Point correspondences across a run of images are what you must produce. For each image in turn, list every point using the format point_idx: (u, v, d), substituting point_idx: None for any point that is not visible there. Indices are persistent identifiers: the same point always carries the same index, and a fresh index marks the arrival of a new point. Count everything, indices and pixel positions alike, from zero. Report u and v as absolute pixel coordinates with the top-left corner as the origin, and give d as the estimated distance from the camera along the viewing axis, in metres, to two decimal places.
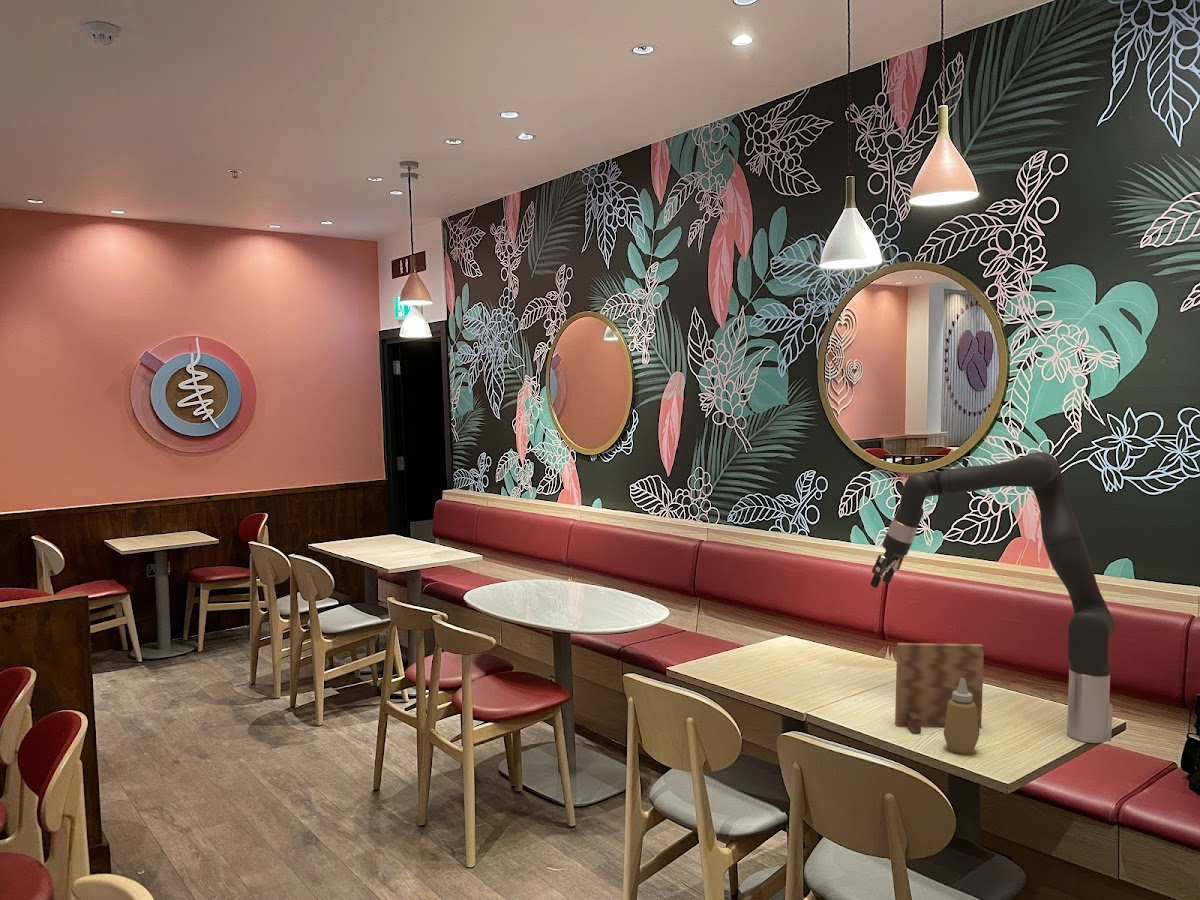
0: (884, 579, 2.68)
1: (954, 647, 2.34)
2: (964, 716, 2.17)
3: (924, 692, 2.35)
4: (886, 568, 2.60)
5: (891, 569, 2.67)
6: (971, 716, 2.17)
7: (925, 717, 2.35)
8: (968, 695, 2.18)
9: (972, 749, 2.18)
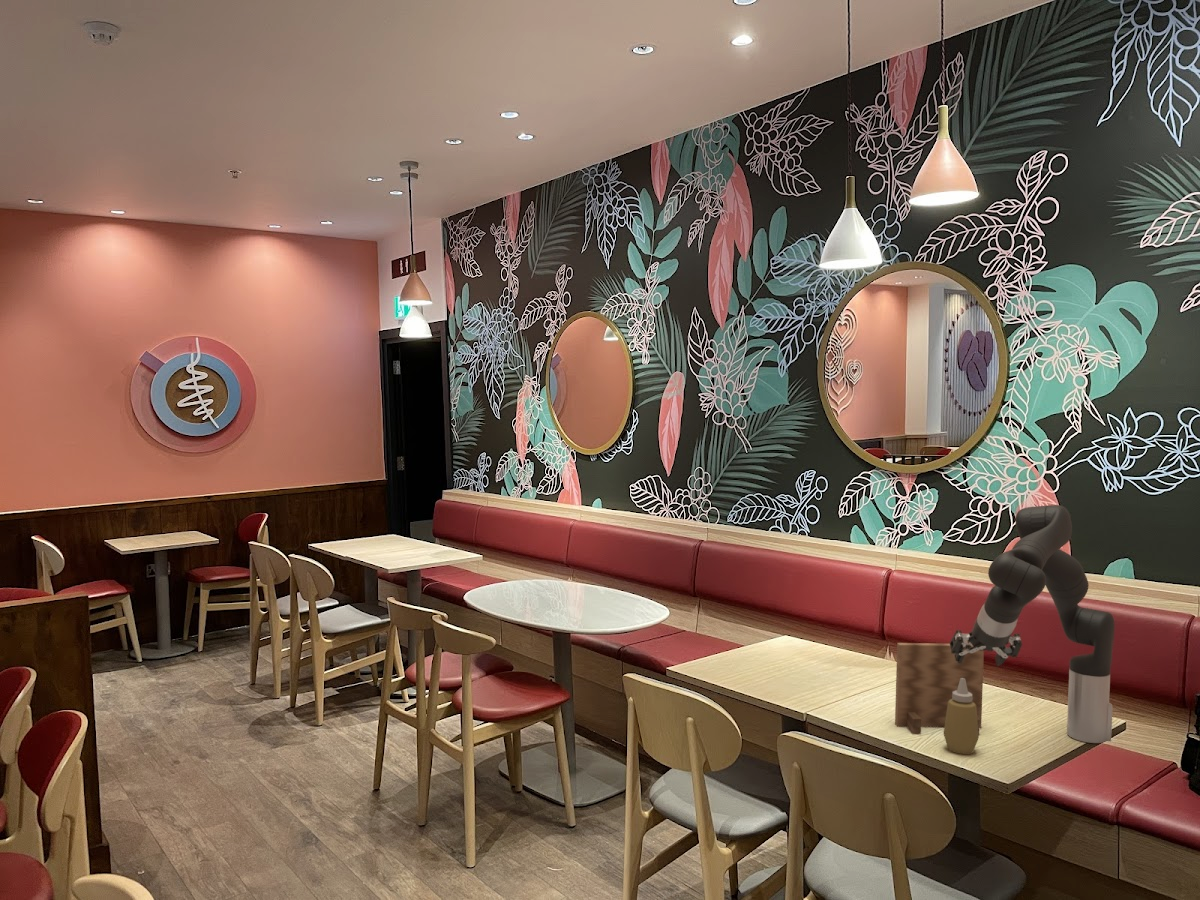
0: None
1: None
2: (964, 716, 2.17)
3: (924, 692, 2.35)
4: None
5: (963, 649, 2.02)
6: (971, 716, 2.17)
7: (925, 717, 2.35)
8: (968, 695, 2.18)
9: (972, 749, 2.18)
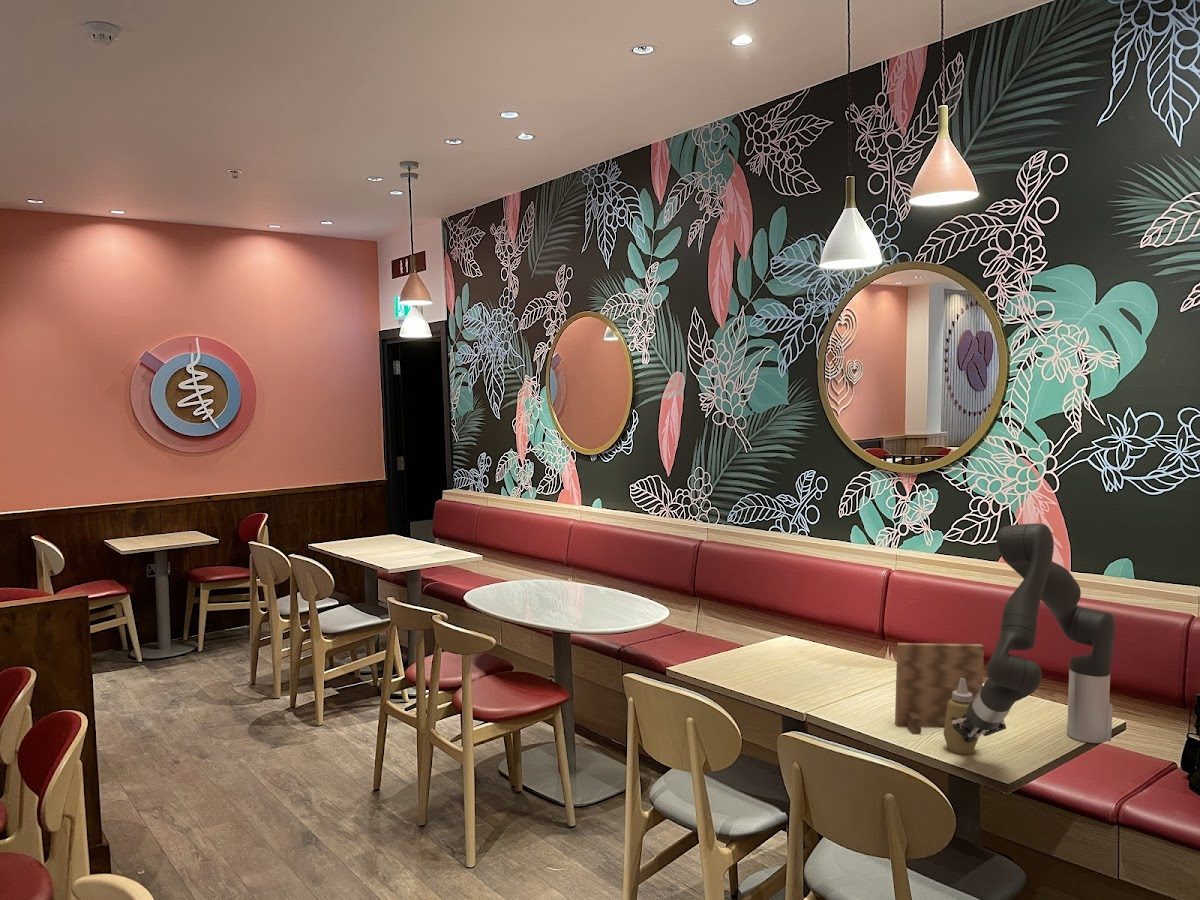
0: None
1: (954, 647, 2.34)
2: None
3: (924, 692, 2.35)
4: None
5: None
6: None
7: (925, 717, 2.35)
8: (968, 695, 2.18)
9: (972, 749, 2.18)
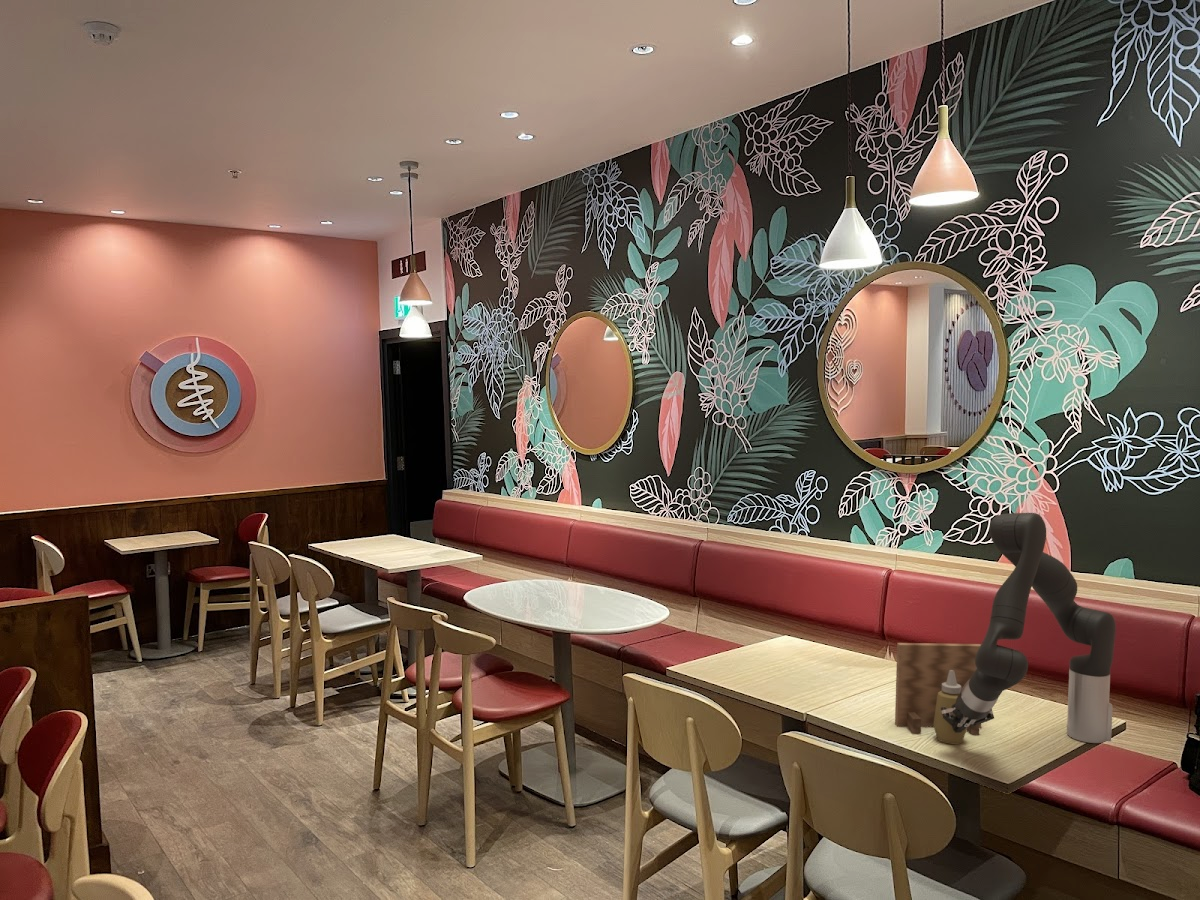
0: None
1: (954, 647, 2.34)
2: None
3: (924, 692, 2.35)
4: None
5: None
6: None
7: (925, 717, 2.35)
8: (957, 686, 2.24)
9: (961, 739, 2.24)
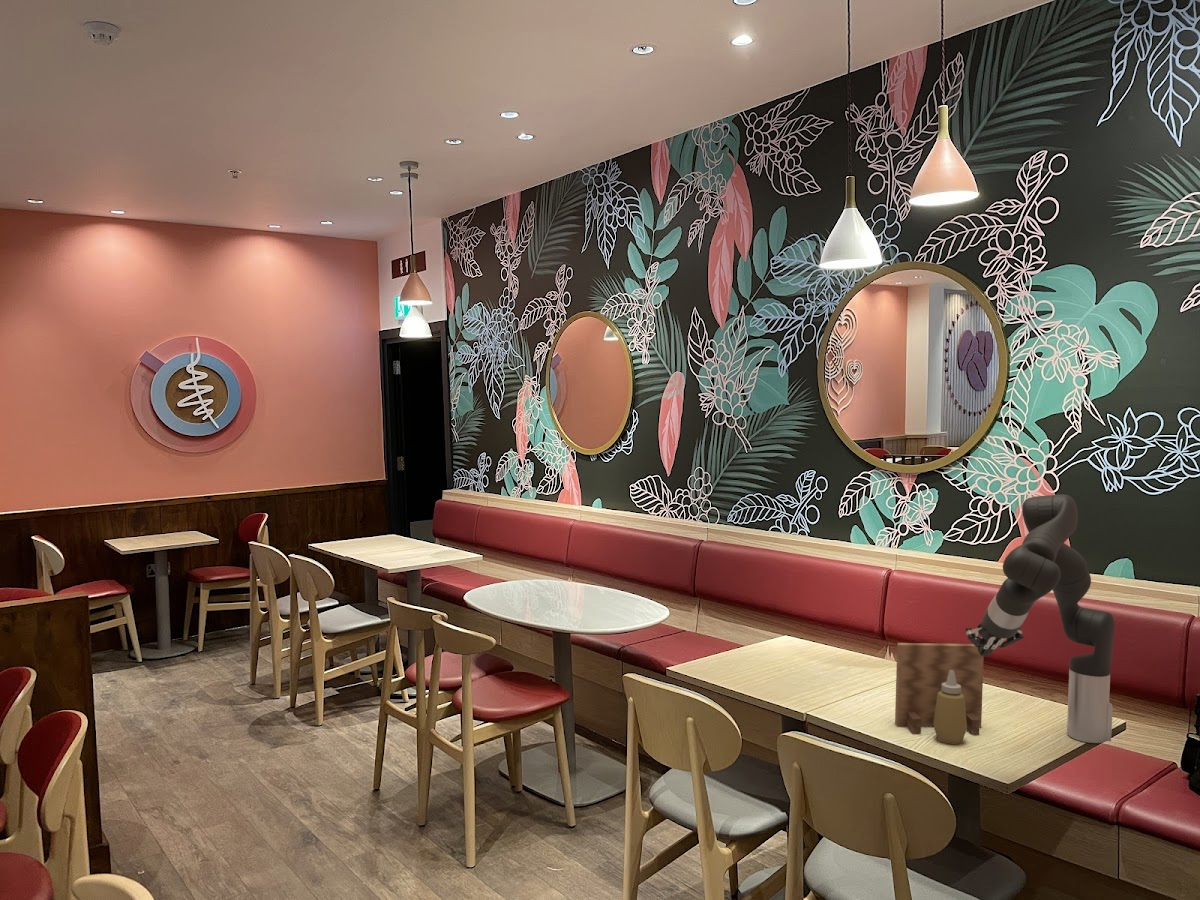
0: None
1: (954, 647, 2.34)
2: (953, 707, 2.23)
3: (924, 692, 2.35)
4: None
5: None
6: (960, 706, 2.23)
7: (925, 717, 2.35)
8: (957, 687, 2.24)
9: (961, 739, 2.24)
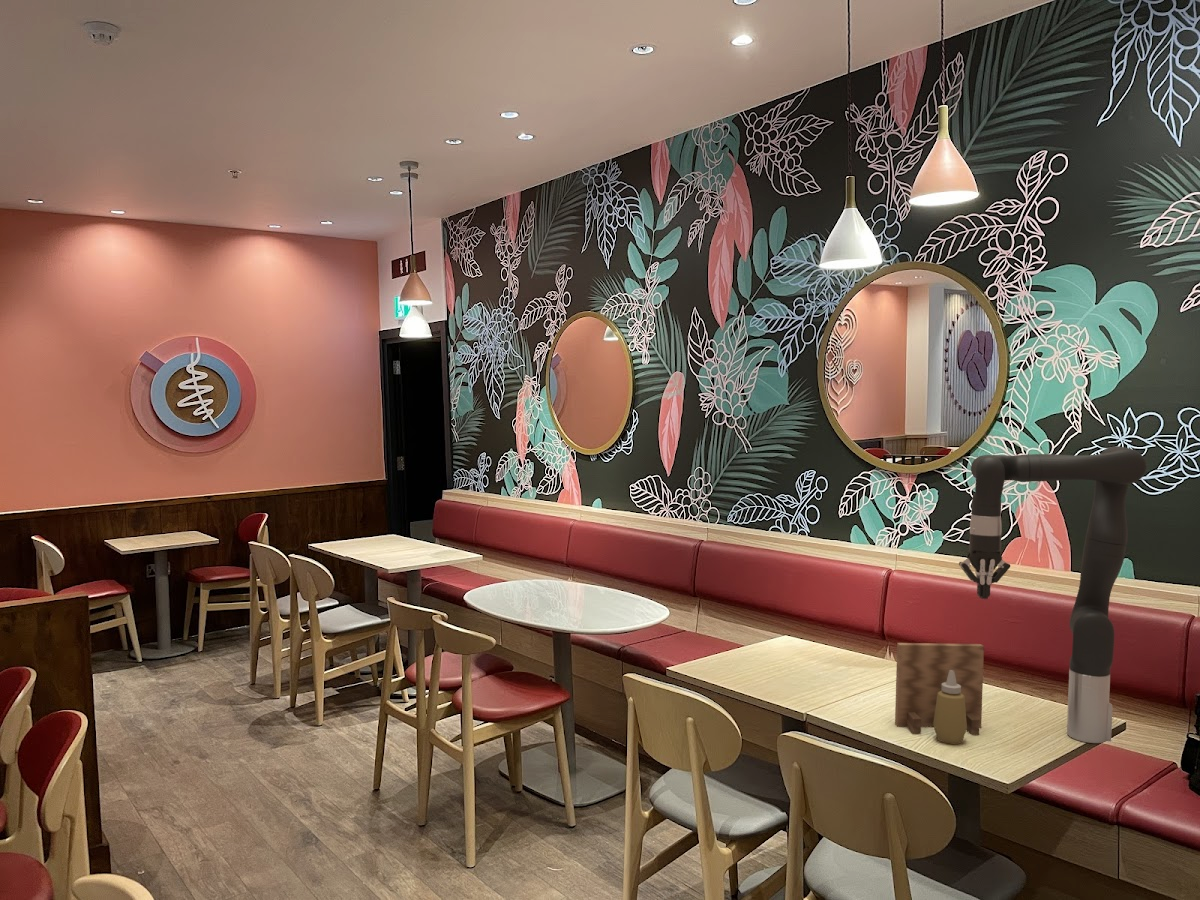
0: None
1: (954, 647, 2.34)
2: (953, 707, 2.23)
3: (924, 692, 2.35)
4: None
5: None
6: (960, 706, 2.23)
7: (925, 717, 2.35)
8: (957, 687, 2.24)
9: (961, 739, 2.24)
